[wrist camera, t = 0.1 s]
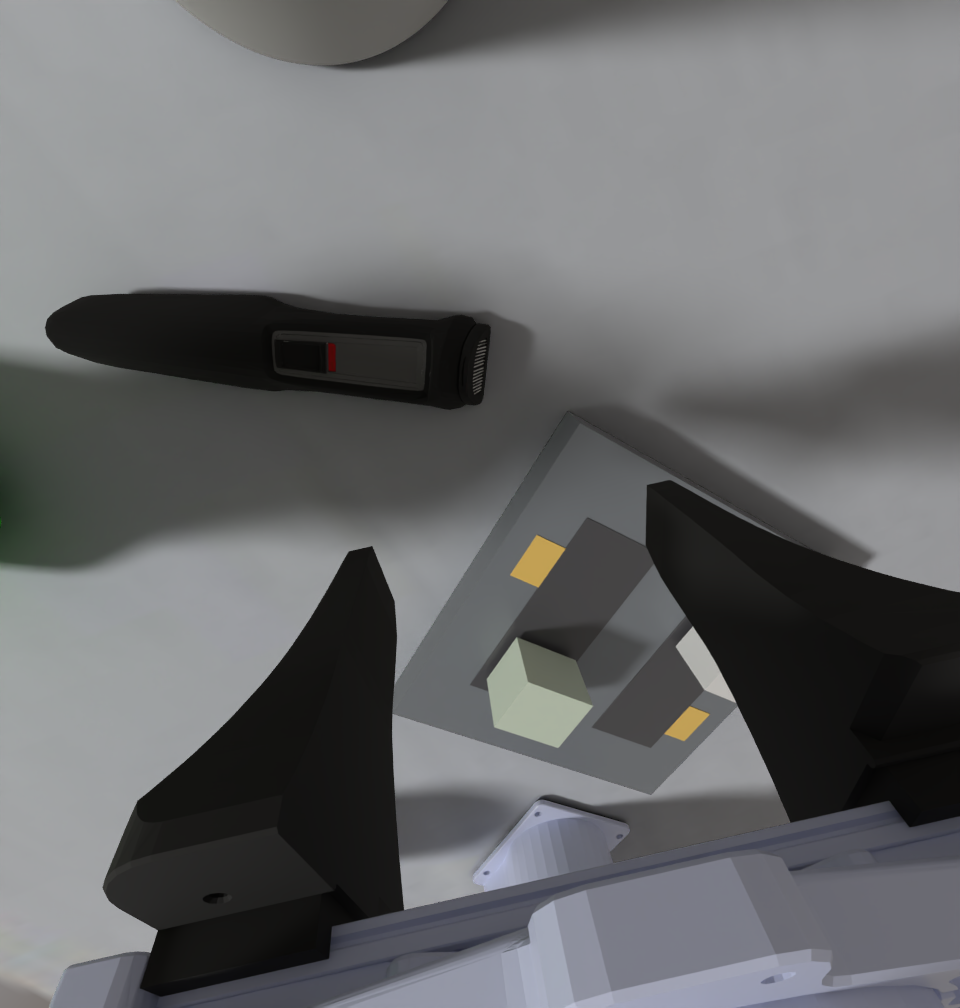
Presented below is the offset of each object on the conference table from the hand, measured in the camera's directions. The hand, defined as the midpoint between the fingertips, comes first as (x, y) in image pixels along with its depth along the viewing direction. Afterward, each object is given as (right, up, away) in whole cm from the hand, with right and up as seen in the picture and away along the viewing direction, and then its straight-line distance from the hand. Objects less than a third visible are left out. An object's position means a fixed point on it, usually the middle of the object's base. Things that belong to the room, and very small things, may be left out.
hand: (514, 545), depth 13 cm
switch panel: (+6, -6, +15) cm, 17 cm away
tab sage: (+2, -8, +13) cm, 15 cm away
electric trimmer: (-8, +7, +8) cm, 14 cm away
